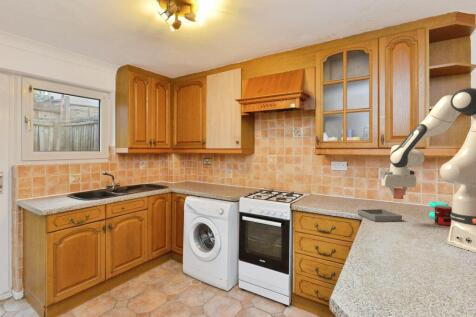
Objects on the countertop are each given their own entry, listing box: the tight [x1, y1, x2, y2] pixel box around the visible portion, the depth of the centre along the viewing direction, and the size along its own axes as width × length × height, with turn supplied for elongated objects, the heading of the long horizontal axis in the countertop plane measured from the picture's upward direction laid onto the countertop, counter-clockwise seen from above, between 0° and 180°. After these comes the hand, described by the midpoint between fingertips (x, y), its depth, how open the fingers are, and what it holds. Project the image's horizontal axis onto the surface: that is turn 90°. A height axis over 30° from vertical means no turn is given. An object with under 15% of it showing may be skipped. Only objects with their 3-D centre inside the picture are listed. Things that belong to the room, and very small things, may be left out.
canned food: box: [433, 205, 452, 227], centre depth 151 cm, size 8×8×11 cm
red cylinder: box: [392, 187, 404, 200], centre depth 151 cm, size 5×5×6 cm
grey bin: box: [357, 208, 403, 223], centre depth 165 cm, size 18×18×4 cm
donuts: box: [428, 201, 449, 219], centre depth 166 cm, size 10×10×10 cm
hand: (398, 194), depth 151 cm, fingers closed on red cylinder, 5 cm apart
